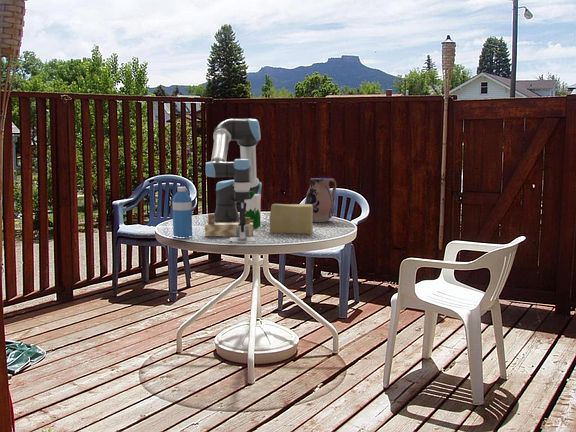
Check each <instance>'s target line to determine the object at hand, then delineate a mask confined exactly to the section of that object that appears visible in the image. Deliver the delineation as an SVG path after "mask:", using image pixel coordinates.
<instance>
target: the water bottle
mask: <svg viewBox="0 0 576 432" xmlns="http://www.w3.org/2000/svg"><path fill="white" fill-rule="evenodd" d="M192 207H193V203H192V196H190V194H189V193H188V192H187V187H185V186H177V191H176V193H175V194H174V195H173V197H172V230H173V231H172V232H173V233H172V235H174V236H178V237H189V236H192V237H193V217H192V216H193V213H192V212H193V209H192Z"/></svg>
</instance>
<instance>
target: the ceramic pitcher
mask: <svg viewBox="0 0 576 432" xmlns="http://www.w3.org/2000/svg"><path fill="white" fill-rule="evenodd" d="M309 181H310V184H309V188H308V190H307V192H306V197H305V200H304V204H312V205H313V223H326V222H328V221H329V220H330V219H332V218H333V216H334V213H335V202H334V198H335V195H336V191H337V182H336V180H335V179H334V178H333V177H315V178H313V177H311V178H310V179H309ZM330 182H331V183H332V191H331V189H330Z"/></svg>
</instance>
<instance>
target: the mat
mask: <svg viewBox="0 0 576 432" xmlns="http://www.w3.org/2000/svg"><path fill="white" fill-rule="evenodd" d="M230 241H232V242H231V243H256V239H255V236H245V239H240V236H229V242H230Z"/></svg>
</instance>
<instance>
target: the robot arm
mask: <svg viewBox="0 0 576 432" xmlns="http://www.w3.org/2000/svg"><path fill="white" fill-rule="evenodd" d="M212 134H213V136H212V139H213V146H212V147H213V148H212V154H211V157H210V158H211V160H210V161H207V162H206V163H205V175H206V177H209V178H234V179H228V180H221V181H218V182H217V183H216V186H215V187H216V188H215V195H216V201H215V202H216V203H215V204H216V207H215V210H214V212H213V214H214V222H215V221H216V222H236V221H237V222H238V223H239V224H238V225H239V226H240V236H239V237H240V239H245V237H246V236H245V221H246V219H245V212H246V203H245V201H244V200H248V199H250V192H249V191H254V194H261V195H262V187H263V183H262V182H261V181H260V180H259V178H258V177H257V154H256V153H257V152H256V151H257V150H256V149H257V148H256V146H257V145H258V143H259V141H261V136H262V135H261V128H260V121H259V120H258V119H256V118H229V119H225V120H222V121H221V122H220V123H219V124H218V125H217V126H216V127H215V128H214V131H213V133H212ZM231 141H236V143H237V145H239V149H240V151H239V152H240V158H235V159H234V160H233V161H227V156H228V151H229V143H230V142H231ZM237 207H238V208H237Z"/></svg>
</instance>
